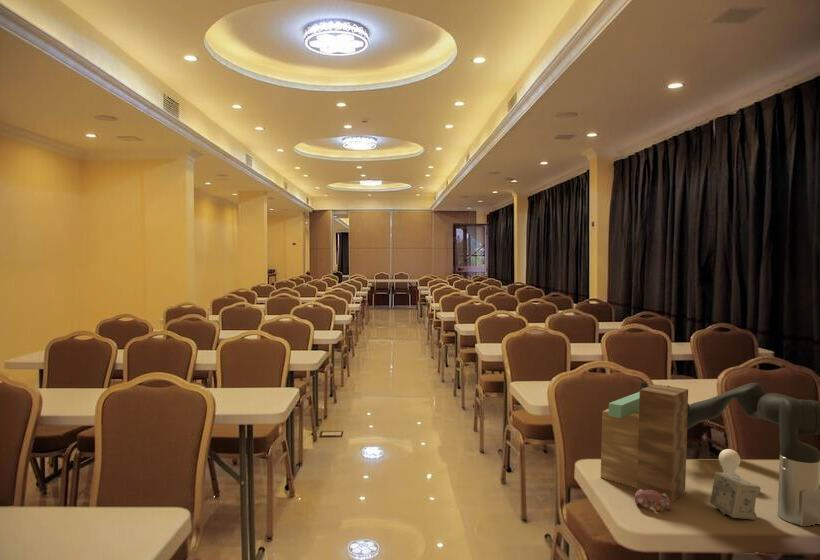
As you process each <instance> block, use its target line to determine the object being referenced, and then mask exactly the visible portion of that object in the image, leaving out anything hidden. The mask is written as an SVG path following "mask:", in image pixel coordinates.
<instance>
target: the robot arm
mask: <svg viewBox="0 0 820 560" xmlns="http://www.w3.org/2000/svg"><path fill="white" fill-rule="evenodd" d="M649 386H650V385H648V384H647V382H646V381H642V382H641V384H640V385H639V391H638V392H640V390H641V389H644V388H646V387H649ZM668 386H669V387H671V386H670V385H668ZM733 400H736V401H737V402H738V404H739V407H741V410H742V411H743V413H744V414H745V415H746V416H747V417H749V418H752V419H759V420H765V421H768V422H769V423H773V424H776V425H778V426H779V429H778V430H779V437H778V438H779V465H778V466H779V467H778V468H779V469H778V491H777V492H778V493H777V494H778V495H777V497H778V498H777V515H778V517H779V518H780V519H781V520H783V521H786V522H788V523H791V524H794V525H798V526H801V527H810V526H811V525H813V526H816V525H815V524H819V523H820V488H819V487H820V450H819V449H818V448H816V447H815V446H813V445H810V444H808V443H806V442H803V441H801V440H799V437H798V434H804V435H820V401H818V400H813V399H799V398H798V399H797V398H795V397H792V396H788V395H786V394H782V393H777V392H771V393H770V392H769V393H766V390H765V389H764V387H763V386H762V385H761V383H759V382H751V383H750V382H749V383H746V384H743V385H740V386H738V387H735V388H732V389H730V390H728V391H725V392H723V393H721V394H718V395H716V396H714V397H710V398H708V399H703V400H700V401H696V402H693V403H691V404H689V403H688V416H687V430H689V429H691V428H693V427H695V426H696V425H698V424H699V423H701V422H703V421H709V420H713V419H715V418H718V417H719V416H720V415H721V414H722V413H723V412H724V411H725V409H726V407H727V406H728V405H729V404H730V402H731V401H733ZM811 527H812V526H811Z"/></svg>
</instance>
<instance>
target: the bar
mask: <svg viewBox="0 0 820 560" xmlns="http://www.w3.org/2000/svg"><path fill="white" fill-rule="evenodd" d="M639 398H640V391H638V392H636V393H633V394H630V395H627V396H624V397H621V398H619V399H616V400H614V401H612V402H609V403H608V409H609V413H608V416H612V417H617V418H623V417H625V416H627V415H630V414H632V413H634V412H636V411H639Z"/></svg>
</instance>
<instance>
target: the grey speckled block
mask: <svg viewBox="0 0 820 560" xmlns="http://www.w3.org/2000/svg"><path fill="white" fill-rule="evenodd" d="M712 484H713V485H712V490H711V495H710V499H709V500H710V501H709V503H710V505H712V506H713V507H715V508H717V509H718V510H720V513H721V514H722V515H723V516H725V515H727V516H730V517H731V518H733V519H741V520H742V519H747V520H752V521H756V520H757V518H758V517H757V514H756V512H755V510H756V509H755V507H756V500H757V499H756V498H757V497H758V496H759V495H760V492H761V486H760V485H758V484H754V483H751V482H749V481H747V480H746V479H744V478H742V477H741V476H740V475H739V474H737V473H736V474H729V473H723V472H720V471H715V473H714V478H713V483H712Z"/></svg>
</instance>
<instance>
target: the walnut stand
mask: <svg viewBox="0 0 820 560" xmlns="http://www.w3.org/2000/svg"><path fill="white" fill-rule="evenodd" d="M669 386H670V385H662V384H656V383H655V384H652V385H649V387H646V388H644V389H641V390H640V391H639V392H640V398H639V434H638V470H637V488H636V492H637V491H639V490H640V489H642V490H655V491H657V492H660V493H662V494H663V493H665V494H666V495H667V496H668V497H669V498H670V501H671V505H672V504H673V503H674V502H676V501H677V500H678V499H680V498H681V497H682V496H683V495H685V494H686V477H687V475H686V472H687V468H686V467H687V444H688V429H687V416H688V404H689V389H688V388H680V387H675V386H670V387H669ZM675 500H676V501H675Z"/></svg>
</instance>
